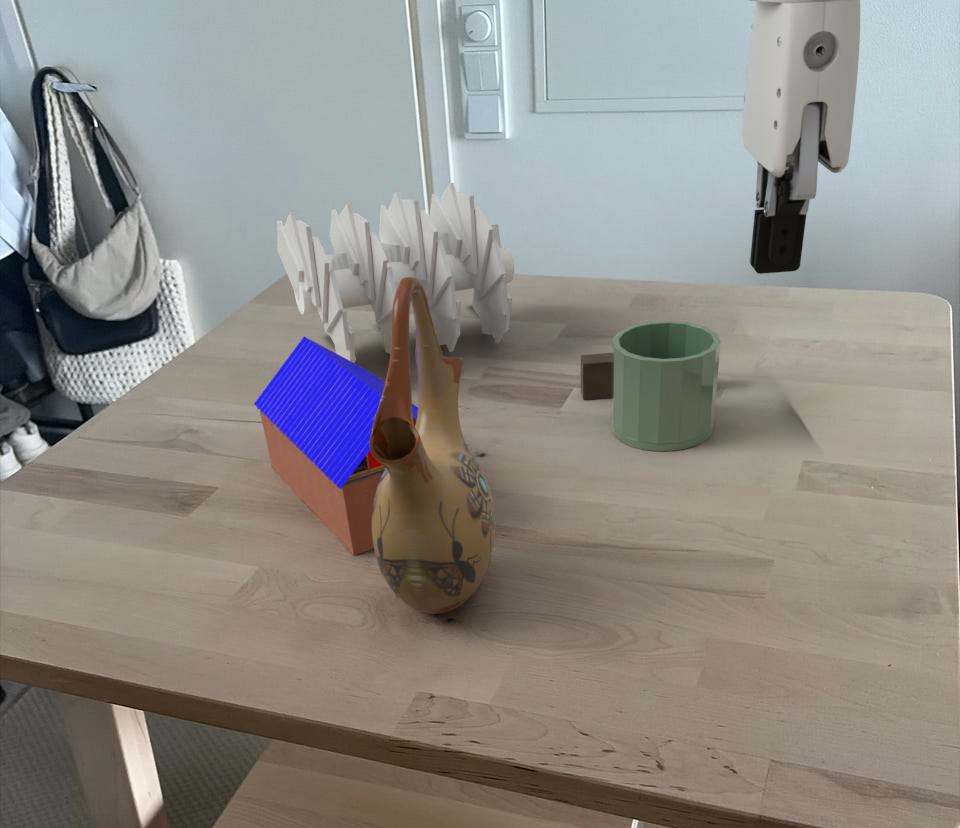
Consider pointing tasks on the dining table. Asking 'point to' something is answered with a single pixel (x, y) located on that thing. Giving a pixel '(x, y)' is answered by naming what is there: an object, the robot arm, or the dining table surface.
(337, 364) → the house
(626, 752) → the dining table surface
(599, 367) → the block
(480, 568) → the ceramic vessel
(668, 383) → the bucket
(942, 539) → the dining table surface
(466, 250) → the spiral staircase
